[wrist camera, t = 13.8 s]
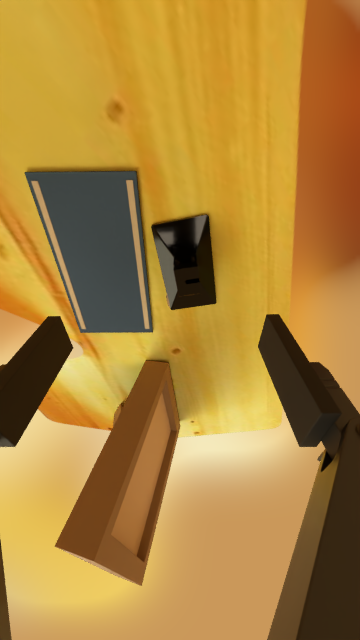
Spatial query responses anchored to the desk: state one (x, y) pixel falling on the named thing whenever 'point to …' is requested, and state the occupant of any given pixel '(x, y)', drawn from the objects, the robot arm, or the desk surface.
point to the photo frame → (127, 481)
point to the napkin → (97, 246)
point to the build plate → (186, 261)
